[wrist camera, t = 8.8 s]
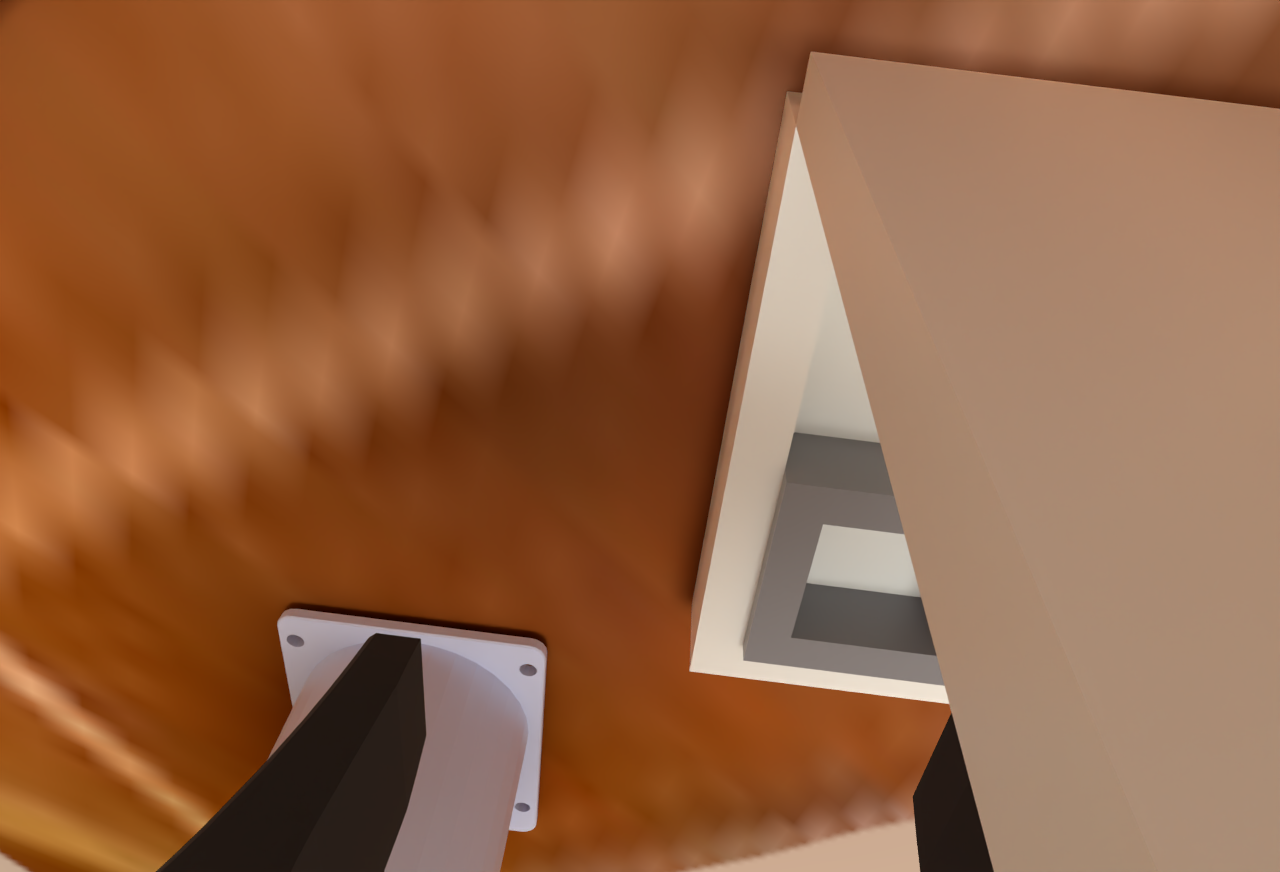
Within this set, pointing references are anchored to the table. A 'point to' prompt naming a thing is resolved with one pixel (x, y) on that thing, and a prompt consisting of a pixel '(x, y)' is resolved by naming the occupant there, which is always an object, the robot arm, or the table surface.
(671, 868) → the table surface
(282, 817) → the robot arm
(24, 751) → the table surface
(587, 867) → the table surface
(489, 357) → the table surface
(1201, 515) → the equipment case
